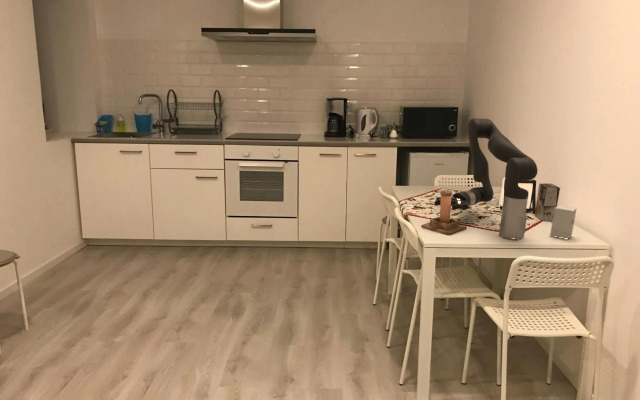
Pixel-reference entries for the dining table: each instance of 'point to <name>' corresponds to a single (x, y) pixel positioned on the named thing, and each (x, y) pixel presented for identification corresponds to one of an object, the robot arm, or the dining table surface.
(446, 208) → the wooden peg
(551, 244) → the dining table surface
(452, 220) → the walnut socket board
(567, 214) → the supplement box
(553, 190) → the coffee box
